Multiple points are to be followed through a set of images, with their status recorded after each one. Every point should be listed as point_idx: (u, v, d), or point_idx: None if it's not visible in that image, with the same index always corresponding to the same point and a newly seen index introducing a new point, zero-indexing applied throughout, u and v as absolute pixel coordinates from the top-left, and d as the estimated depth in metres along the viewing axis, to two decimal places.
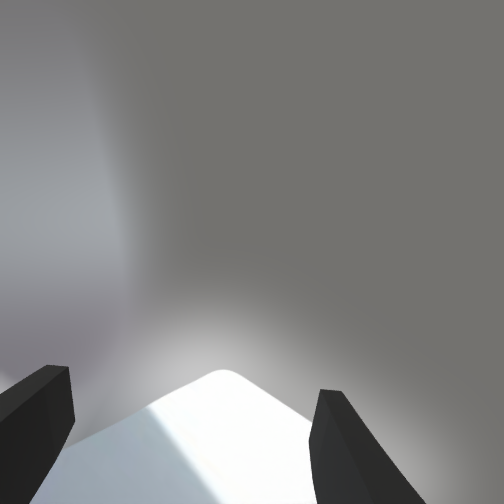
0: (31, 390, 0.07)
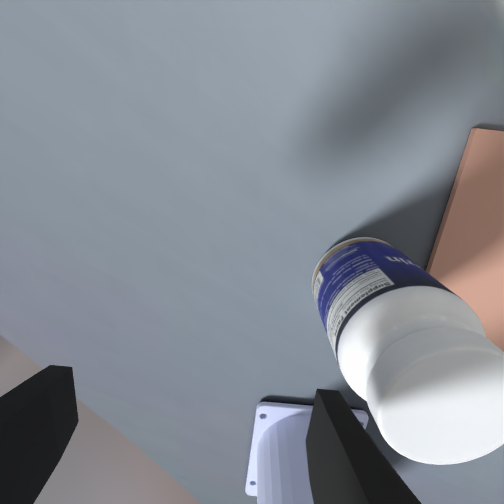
0: (35, 390, 0.07)
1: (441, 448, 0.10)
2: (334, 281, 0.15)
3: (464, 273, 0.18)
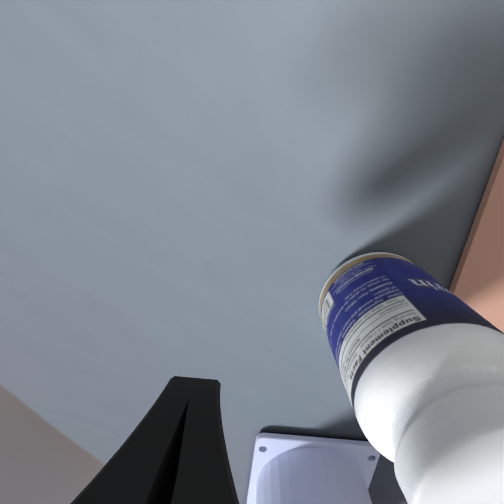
0: (178, 402, 0.07)
1: None
2: (347, 307, 0.13)
3: (494, 293, 0.16)
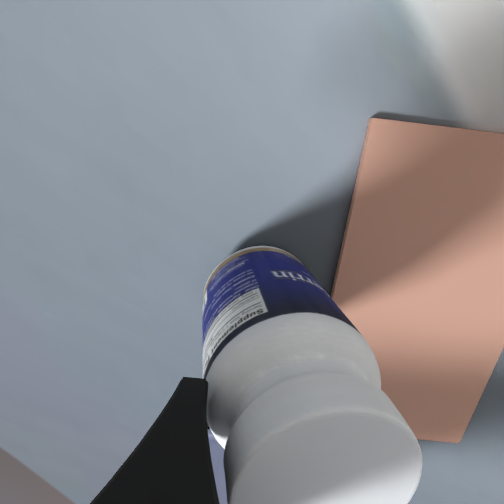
0: (190, 404, 0.07)
1: None
2: (213, 305, 0.12)
3: (375, 285, 0.16)
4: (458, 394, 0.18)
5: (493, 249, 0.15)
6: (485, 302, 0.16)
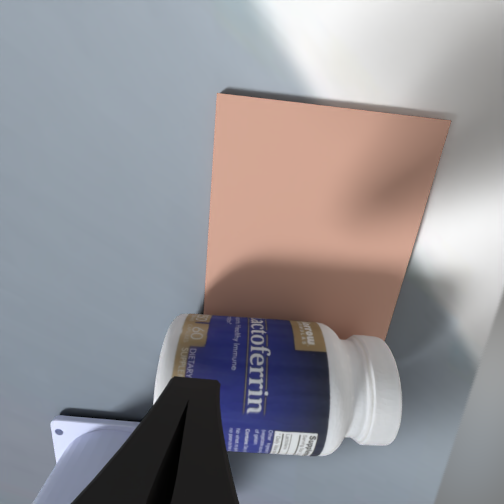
0: (178, 402, 0.07)
1: None
2: (242, 451, 0.13)
3: (247, 269, 0.16)
4: None
5: (361, 231, 0.15)
6: (361, 286, 0.16)
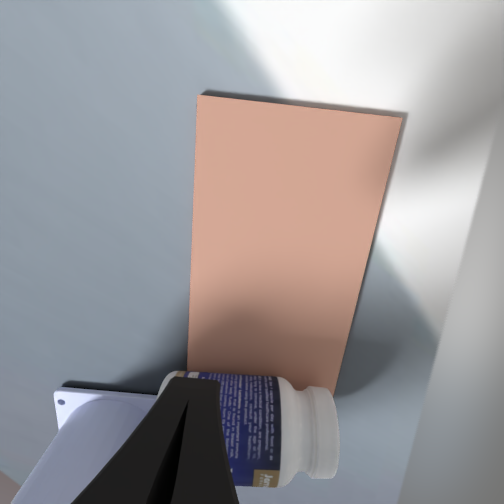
0: (178, 402, 0.07)
1: None
2: None
3: (227, 251, 0.18)
4: (322, 354, 0.20)
5: (328, 216, 0.17)
6: (330, 266, 0.18)
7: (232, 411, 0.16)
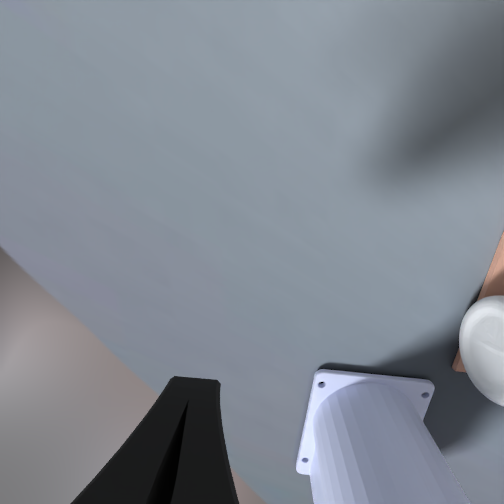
0: (178, 402, 0.07)
1: None
2: None
3: None
4: None
5: None
6: None
7: None
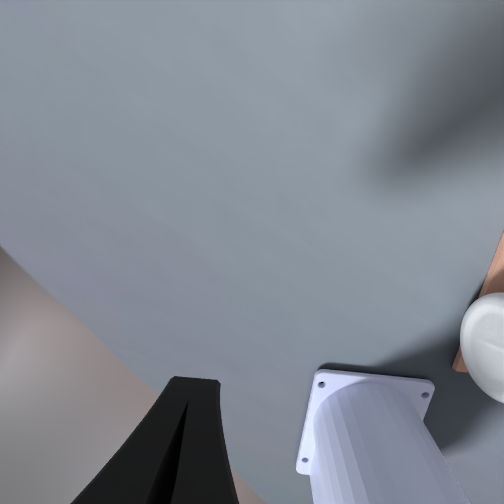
0: (178, 402, 0.07)
1: None
2: None
3: None
4: None
5: None
6: None
7: None
